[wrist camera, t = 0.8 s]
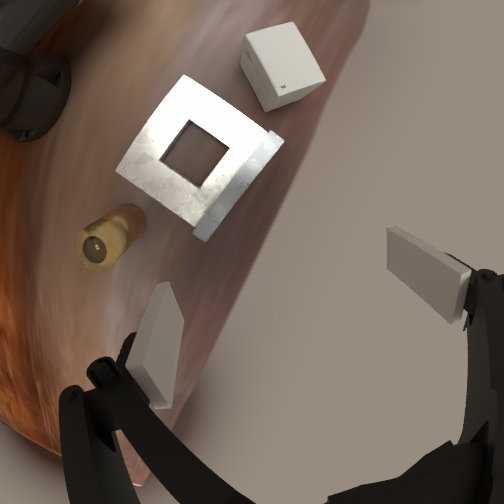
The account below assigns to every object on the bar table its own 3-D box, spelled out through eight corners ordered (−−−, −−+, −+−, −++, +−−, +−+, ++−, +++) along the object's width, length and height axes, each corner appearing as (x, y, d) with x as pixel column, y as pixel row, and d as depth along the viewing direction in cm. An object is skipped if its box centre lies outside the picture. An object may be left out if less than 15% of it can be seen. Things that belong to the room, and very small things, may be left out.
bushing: (108, 225, 36) (69, 255, 25) (124, 197, 35) (85, 216, 23) (135, 244, 37) (104, 281, 26) (152, 216, 36) (123, 244, 25)
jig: (121, 169, 33) (106, 172, 28) (186, 79, 30) (180, 67, 25) (208, 230, 38) (205, 242, 32) (276, 142, 34) (284, 141, 29)
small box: (301, 99, 32) (328, 82, 23) (263, 113, 33) (279, 98, 23) (276, 51, 30) (294, 19, 20) (238, 64, 30) (244, 33, 20)
